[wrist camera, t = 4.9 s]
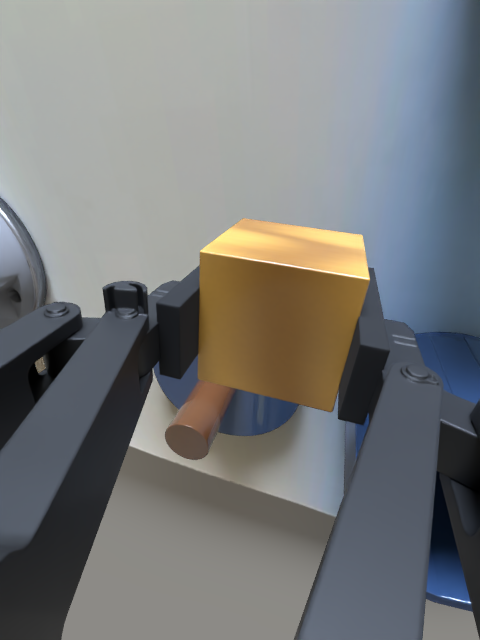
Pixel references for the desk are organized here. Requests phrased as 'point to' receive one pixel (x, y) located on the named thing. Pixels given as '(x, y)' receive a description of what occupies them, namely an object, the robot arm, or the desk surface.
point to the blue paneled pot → (444, 562)
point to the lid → (216, 412)
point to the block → (280, 310)
